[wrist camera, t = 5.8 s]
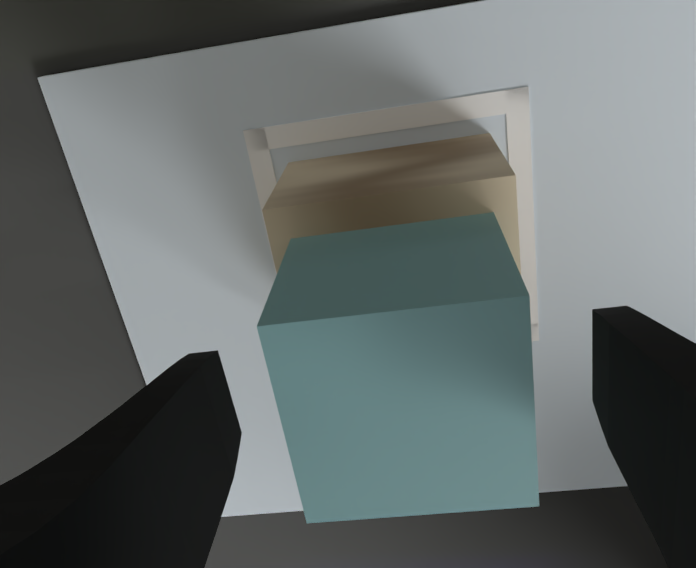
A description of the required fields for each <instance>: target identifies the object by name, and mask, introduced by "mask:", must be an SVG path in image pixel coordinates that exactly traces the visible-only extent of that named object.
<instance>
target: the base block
mask: <svg viewBox="0 0 696 568" xmlns="http://www.w3.org/2000/svg"><path fill="white" fill-rule="evenodd" d="M262 212H263V216H264V221H265V225H266V229H267V234H268V238H269V242H270V247H271V251H272V255H273V260H274V264H275V268H276V272H277V273H278V270H279V268H280V265H281V262H282V260H283V257H284V255H285V252H286V249H287V247H288V244H289V242H290V239H292V238H300V237H307V236H315V235H323V234H330V233H338V232H346V231H353V230H361V229H369V228H376V227H384V226H392V225H399V224H407V223H415V222H422V221H430V220H438V219H445V218H453V217H461V216H468V215H476V214H484V213H491V212H494V214H495V216H496V219H497V221H498V223H499V226H500V228H501V230H502V233H503V235H504V237H505V240H506V242H507V244H508V247H509V249H510V251H511V254H512V256H513V258H514V261H515V263H516V265H517V268H518V270H519V272H520V275H521V265H520V246H519V227H518V208H517V189H516V175H515V173H514V171H513V170H512V168H511V167H510V165H509V163H508V162H507V160H506V159H505V157H504V155H503V154H502V152H501V150H500V149H499V147H498V146H497V144H496V142H495V141H494V139H493V138H492V136H491V134H490V133H486V134H479V135H472V136H466V137H459V138H452V139H445V140H438V141H432V142H425V143H418V144H411V145H404V146H397V147H391V148H384V149H377V150H370V151H363V152H357V153H350V154H343V155H336V156H329V157H322V158H316V159H309V160H302V161H295V162H289V163H288V164H287V166H286V168H285V170H284V172H283V173H282V175H281V177H280V179H279V181H278V182H277V184H276V186H275V188H274V189H273V191H272V193H271V195H270V197H269V198H268V200H267V202H266V204H265V206H264V207H263V209H262Z"/></svg>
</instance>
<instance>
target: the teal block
mask: <svg viewBox="0 0 696 568" xmlns="http://www.w3.org/2000/svg"><path fill="white" fill-rule="evenodd" d="M257 330H258V334H259V338H260V342H261V346H262V350H263V353H264V357H265V361H266V365H267V369H268V373H269V377H270V381H271V385H272V389H273V393H274V397H275V400H276V404H277V408H278V412H279V416H280V420H281V424H282V428H283V432H284V436H285V440H286V444H287V448H288V451H289V455H290V459H291V463H292V467H293V471H294V475H295V479H296V483H297V487H298V491H299V495H300V498H301V502H302V506H303V510H304V514H305V518H306V522H307V523H318V522H331V521H345V520H359V519H373V518H386V517H400V516H414V515H428V514H441V513H455V512H469V511H482V510H496V509H510V508H524V507H537V506H539V488H538V466H537V445H536V424H535V402H534V381H533V359H532V338H531V317H530V295H529V293H528V291H527V288H526V286H525V284H524V282H523V279H522V277H521V275H520V272H519V270H518V268H517V265H516V263H515V261H514V258H513V256H512V254H511V251H510V249H509V247H508V244H507V242H506V240H505V237H504V235H503V233H502V230H501V228H500V226H499V223H498V221H497V219H496V216H495V214H494V212H491V213H484V214H476V215H468V216H461V217H453V218H445V219H438V220H430V221H422V222H415V223H407V224H399V225H392V226H384V227H376V228H369V229H361V230H353V231H346V232H338V233H330V234H323V235H315V236H307V237H300V238H292V239H290V242H289V244H288V247H287V249H286V252H285V255H284V257H283V260H282V262H281V265H280V268H279V270H278V273H277V275H276V278H275V280H274V283H273V286H272V288H271V291H270V293H269V296H268V298H267V301H266V304H265V306H264V309H263V311H262V314H261V317H260V319H259V322H258V324H257Z"/></svg>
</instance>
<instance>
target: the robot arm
mask: <svg viewBox="0 0 696 568" xmlns="http://www.w3.org/2000/svg"><path fill="white" fill-rule="evenodd" d="M592 401H593V404H594V407H595V410H596V413H597V416H598V419H599V422H600V425H601V428H602V431H603V434H604V436H605V439H606V442H607V445H608V447H609V449H610V451H611V453H612V455H613V457H614V459H615V461H616V463H617V465H618V467H619V469H620V471H621V473H622V475H623V477H624V479H625V481H626V483H627V485H628V487H629V489H630V491H631V493H632V495H633V497H634V499H635V501H636V503H637V505H638V507H639V508H640V510H641V512H642V514H643V516H644V518H645V520H646V522H647V524H648V526H649V528H650V530H651V532H652V534H653V536H654V538H655V540H656V542H657V544H658V546H659V547H660V550H661V552H662V554H663V556H664V558H665V560H666V563H667V565H668V567H669V568H696V343H694V342H692V341H690V340H689V339H687V338H685V337H683V336H681V335H680V334H678V333H676V332H674V331H673V330H671V329H669V328H667V327H666V326H664V325H662V324H660V323H658V322H657V321H655V320H653V319H651V318H650V317H648V316H646V315H644V314H642V313H641V312H639V311H637V310H635V309H633V308H631V307H629V306H618V307H609V308H600V309H592ZM241 435H242V432H241V428H240V425H239V421H238V418H237V414H236V411H235V407H234V404H233V401H232V397H231V394H230V390H229V387H228V383H227V380H226V376H225V373H224V370H223V366H222V363H221V359H220V356H219V352H218V350H217V351H208V352H198V353H189V354H187V355H186V356H184V357H183V358H181V359H180V360H178V361H177V362H176V363H174V364H173V365H172V366H170V367H169V368H168V369H166V370H165V371H164V372H163V373H161V374H160V375H159V376H158V377H156V378H155V379H154V380H153V381H151V382H150V383H149V384H148V385H146V386H145V387H144V388H143V389H141V390H140V391H139V392H138V393H136V394H135V395H134V396H133V397H131V398H130V399H129V400H128V401H126V402H125V403H124V404H123V405H121V406H120V407H119V408H118V409H116V410H115V411H114V412H112V413H111V414H110V415H108V416H107V417H106V418H104V419H103V420H101V421H100V422H99V423H97V424H96V425H95V426H93V427H92V428H91V429H89V430H88V431H87V432H85V433H84V434H83V435H81V436H80V437H79V438H77V439H76V440H74V441H73V442H71V443H70V444H68V445H67V446H65V447H64V448H62V449H61V450H59V451H58V452H56V453H55V454H53V455H52V456H50V457H48V458H47V459H45V460H44V461H42V462H40V463H39V464H37V465H36V466H34V467H32V468H31V469H29V470H27V471H26V472H24V473H22V474H21V475H19V476H17V477H15V478H13V479H12V480H10V481H8V482H6V483H4V484H2V485H0V568H204V567H205V564H206V561H207V558H208V555H209V552H210V549H211V546H212V543H213V540H214V537H215V534H216V531H217V528H218V525H219V522H220V519H221V516H222V513H223V510H224V507H225V504H226V501H227V498H228V495H229V492H230V488H231V485H232V482H233V479H234V475H235V470H236V464H237V459H238V453H239V447H240V441H241Z"/></svg>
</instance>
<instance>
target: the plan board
mask: <svg viewBox="0 0 696 568" xmlns="http://www.w3.org/2000/svg"><path fill="white" fill-rule="evenodd" d="M38 81H39V84H40V87H41V90H42V92H43V95H44V98H45V101H46V104H47V106H48V109H49V112H50V115H51V118H52V121H53V123H54V126H55V129H56V132H57V135H58V137H59V140H60V143H61V146H62V149H63V152H64V154H65V157H66V160H67V163H68V166H69V168H70V171H71V174H72V177H73V180H74V182H75V185H76V188H77V191H78V194H79V197H80V199H81V202H82V205H83V208H84V211H85V213H86V216H87V219H88V222H89V225H90V228H91V230H92V233H93V236H94V239H95V242H96V244H97V247H98V250H99V253H100V256H101V258H102V261H103V264H104V267H105V270H106V273H107V275H108V278H109V281H110V284H111V287H112V289H113V292H114V295H115V298H116V301H117V304H118V306H119V309H120V312H121V315H122V318H123V320H124V323H125V326H126V329H127V332H128V334H129V337H130V340H131V343H132V346H133V349H134V351H135V354H136V357H137V360H138V363H139V365H140V368H141V371H142V374H143V377H144V380H145V382H146V385H148V384H149V383H150V382H151V381H153V380H154V379H155V378H156V377H158V376H159V375H160V374H161V373H163V372H164V371H165V370H166V369H168V368H169V367H170V366H172V365H173V364H174V363H176V362H177V361H178V360H180V359H181V358H183V357H184V356H186V355H187V354H189V353H198V352H208V351H217V350H218V352H219V356H220V359H221V363H222V366H223V370H224V373H225V376H226V380H227V383H228V387H229V390H230V394H231V397H232V401H233V404H234V407H235V411H236V414H237V418H238V421H239V425H240V428H241V432H242V435H241V441H240V447H239V453H238V459H237V464H236V470H235V475H234V479H233V482H232V485H231V488H230V492H229V495H228V498H227V501H226V504H225V507H224V510H223V513H222V516H221V517H225V516H239V515H252V514H265V513H278V512H291V511H304V510H303V506H302V502H301V498H300V495H299V491H298V487H297V483H296V479H295V475H294V471H293V467H292V463H291V459H290V455H289V451H288V448H287V444H286V440H285V436H284V432H283V428H282V424H281V420H280V416H279V412H278V408H277V404H276V400H275V397H274V393H273V389H272V385H271V381H270V377H269V373H268V369H267V365H266V361H265V357H264V353H263V350H262V346H261V342H260V338H259V334H258V330H257V324H258V322H259V319H260V317H261V314H262V311H263V309H264V306H265V304H266V301H267V298H268V296H269V293H270V291H271V288H272V286H273V283H274V280H275V278H276V275H277V272H276V268H275V264H274V260H273V255H272V251H271V247H270V242H269V238H268V234H267V229H266V225H265V221H264V216H263V212H262V209H263V207H264V206H265V204H266V202H267V200H268V198H269V197H270V195H271V193H272V191H273V189H274V188H275V186H276V184H277V182H278V181H279V179H280V177H281V175H282V173H283V172H284V170H285V168H286V166H287V164H288V163H289V162H295V161H302V160H309V159H316V158H322V157H329V156H336V155H343V154H350V153H357V152H363V151H370V150H377V149H384V148H391V147H397V146H404V145H411V144H418V143H425V142H432V141H438V140H445V139H452V138H459V137H466V136H472V135H479V134H486V133H490V134H491V136H492V138H493V139H494V141H495V142H496V144H497V146H498V147H499V149H500V150H501V152H502V154H503V155H504V157H505V159H506V160H507V162H508V163H509V165H510V167H511V168H512V170H513V171H514V173H515V175H516V189H517V208H518V227H519V246H520V265H521V277H522V279H523V282H524V284H525V286H526V288H527V291H528V293H529V295H530V317H531V338H532V359H533V381H534V402H535V424H536V445H537V466H538V488H539V493H542V492H555V491H568V490H581V489H594V488H608V487H621V486H628V485H627V483H626V481H625V479H624V477H623V475H622V473H621V471H620V469H619V467H618V465H617V463H616V461H615V459H614V457H613V455H612V453H611V451H610V449H609V447H608V445H607V442H606V439H605V436H604V434H603V431H602V428H601V425H600V422H599V419H598V416H597V413H596V410H595V407H594V404H593V401H592V309H600V308H609V307H618V306H629V307H631V308H633V309H635V310H637V311H639V312H641V313H642V314H644V315H646V316H648V317H650V318H651V319H653V320H655V321H657V322H658V323H660V324H662V325H664V326H666V327H667V328H669V329H671V330H673V331H674V332H676V333H678V334H680V335H681V336H683V337H685V338H687V339H689V340H690V341H692V342H694V343H696V0H480V1H474V2H468V3H462V4H456V5H451V6H445V7H439V8H433V9H427V10H422V11H416V12H410V13H404V14H399V15H393V16H387V17H381V18H375V19H370V20H364V21H358V22H352V23H346V24H341V25H335V26H329V27H323V28H317V29H312V30H306V31H300V32H294V33H289V34H283V35H277V36H271V37H265V38H260V39H254V40H248V41H242V42H236V43H231V44H225V45H219V46H213V47H207V48H202V49H196V50H190V51H184V52H179V53H173V54H167V55H161V56H155V57H150V58H144V59H138V60H132V61H126V62H121V63H115V64H109V65H103V66H97V67H92V68H86V69H80V70H74V71H69V72H63V73H57V74H51V75H45V76H42V77H38Z"/></svg>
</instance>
